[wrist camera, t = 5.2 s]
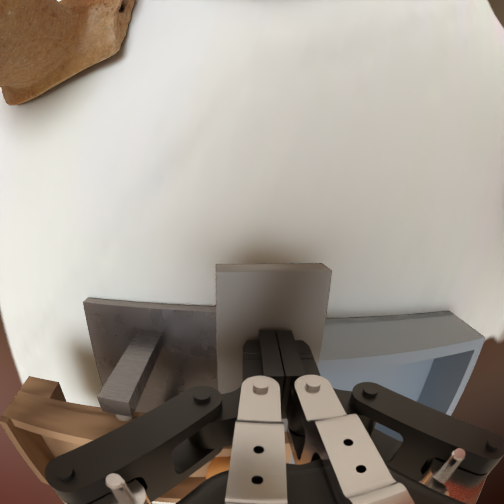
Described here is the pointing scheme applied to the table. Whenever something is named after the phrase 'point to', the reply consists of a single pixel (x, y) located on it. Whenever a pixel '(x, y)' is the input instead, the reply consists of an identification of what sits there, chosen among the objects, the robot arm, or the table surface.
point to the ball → (218, 466)
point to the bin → (402, 357)
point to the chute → (228, 362)
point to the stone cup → (55, 41)
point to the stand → (150, 351)
